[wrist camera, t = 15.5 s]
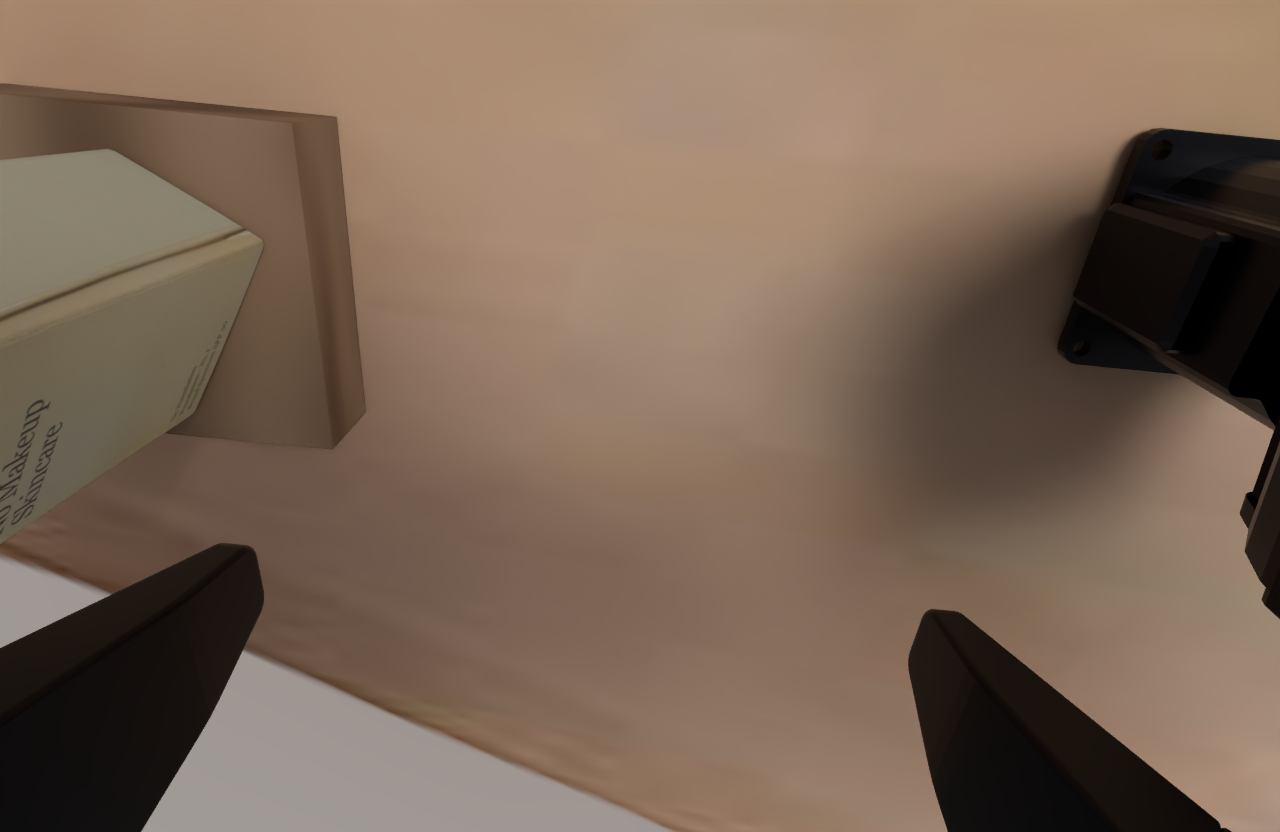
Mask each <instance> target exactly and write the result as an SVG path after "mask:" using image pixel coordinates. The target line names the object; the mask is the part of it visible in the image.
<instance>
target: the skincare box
mask: <svg viewBox="0 0 1280 832" xmlns="http://www.w3.org/2000/svg"><path fill="white" fill-rule="evenodd" d="M263 246H264V243H263V241H262V239H261V238H259V237H258V236H256V235H254V234H253V233H251V232H249V231H247V230H246V229H244V228H243V227H241V226H240V225H238V224H236V223H235V222H233V221H231V220H230V219H228V218H227V217H225V216H223V215H222V214H220V213H218V212H217V211H215V210H213V209H212V208H210V207H208V206H207V205H205V204H203V203H202V202H200V201H198V200H197V199H195V198H193V197H192V196H190V195H188V194H187V193H185V192H183V191H182V190H180V189H178V188H177V187H175V186H173V185H172V184H170V183H168V182H167V181H165V180H163V179H162V178H160V177H158V176H157V175H155V174H153V173H152V172H150V171H148V170H146V169H145V168H143V167H141V166H140V165H138V164H136V163H135V162H133V161H131V160H129V159H128V158H126V157H124V156H123V155H121V154H119V153H118V152H116V151H113V150H110V149H101V150H91V151H82V152H73V153H63V154H54V155H44V156H34V157H25V158H15V159H5V160H0V544H1V543H3V542H4V541H6V540H7V539H9V538H10V537H12V536H13V535H15V534H16V533H18V532H19V531H20V530H22V529H23V528H25V527H26V526H28V525H29V524H31V523H32V522H34V521H35V520H37V519H38V518H40V517H41V516H43V515H44V514H45V513H47V512H48V511H50V510H51V509H53V508H54V507H56V506H57V505H59V504H60V503H62V502H63V501H65V500H66V499H68V498H69V497H71V496H72V495H74V494H75V493H77V492H78V491H79V490H81V489H82V488H84V487H85V486H87V485H88V484H90V483H91V482H93V481H94V480H96V479H97V478H99V477H100V476H102V475H103V474H105V473H106V472H108V471H109V470H111V469H112V468H114V467H115V466H117V465H118V464H120V463H121V462H123V461H124V460H125V459H127V458H128V457H130V456H131V455H133V454H134V453H136V452H137V451H139V450H140V449H142V448H143V447H145V446H146V445H147V444H149V443H150V442H152V441H154V440H155V439H157V438H158V437H160V436H161V435H162V434H164V433H165V432H167V431H168V430H170V429H171V428H173V427H174V426H176V425H177V424H179V423H180V422H182V421H183V420H185V419H186V418H188V417H189V416H191V415H192V414H193V413H194V412H195V410H196V408H197V406H198V403H199V401H200V399H201V397H202V394H203V392H204V390H205V388H206V385H207V383H208V381H209V379H210V376H211V374H212V372H213V369H214V367H215V365H216V362H217V360H218V358H219V355H220V353H221V351H222V348H223V346H224V344H225V341H226V339H227V336H228V334H229V331H230V329H231V327H232V324H233V322H234V320H235V317H236V315H237V313H238V310H239V308H240V305H241V303H242V300H243V298H244V295H245V293H246V290H247V288H248V285H249V283H250V280H251V278H252V275H253V273H254V270H255V268H256V265H257V263H258V260H259V258H260V255H261V253H262V250H263Z"/></svg>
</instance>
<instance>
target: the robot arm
mask: <svg viewBox="0 0 1280 832" xmlns="http://www.w3.org/2000/svg"><path fill="white" fill-rule="evenodd" d="M1160 140H1161V141H1162V143H1163V147H1162V150H1161V152H1160V153H1159V155H1157V156H1156V157H1154V158H1153V157H1152V155H1151V153H1152V148H1153V147H1154V145H1155V144H1156V143H1158V142H1159V141H1160ZM1073 296H1074V298H1075V300H1074V303H1073V305H1072V308H1071V310H1070V313H1069V316H1068V318H1067V321H1066V323H1065V326H1064V329H1063V331H1062V334H1061V336H1060V339H1059V342H1058V347H1057V349H1058V352H1059V354H1060V355H1061V356H1062V357H1063V358H1065V359H1066V360H1067V361H1069V362H1070V363H1074V364H1079V365H1090V366H1100V367H1110V368H1120V369H1131V370H1141V371H1151V372H1161V373H1171V374H1180V375H1182V376H1184V377H1185V378H1187V379H1189V380H1190V381H1192V382H1194V383H1195V384H1197V385H1199V386H1200V387H1202V388H1204V389H1205V390H1207V391H1209V392H1210V393H1212V394H1214V395H1215V396H1217V397H1219V398H1220V399H1222V400H1224V401H1225V402H1227V403H1229V404H1230V405H1232V406H1234V407H1235V408H1237V409H1239V410H1240V411H1242V412H1244V413H1245V414H1247V415H1249V416H1250V417H1252V418H1254V419H1255V420H1257V421H1259V422H1260V423H1262V424H1264V425H1265V426H1267V427H1269V428H1270V429H1272V430H1274V433H1273V435H1272V438H1271V441H1270V444H1269V447H1268V450H1267V453H1266V455H1265V458H1264V461H1263V464H1262V467H1261V470H1260V472H1259V475H1258V478H1257V481H1256V484H1255V487H1254V489H1253V492H1248V493H1247V494H1246V496H1245V499H1244V501H1243V504H1242V507H1241V510H1240V516H1241V517H1242V519H1243V521H1244V523H1245V524H1246V526H1247V528H1248V529H1249V530H1248V535H1247V541H1246V546H1245V553H1246V555H1247V557H1248V559H1249V561H1250V563H1251V564H1252V566H1253V568H1254V570H1255V572H1256V574H1257V576H1258V578H1259V580H1260V581H1261V583H1262V584H1263V585H1264V586H1265V587H1266V588H1265V591H1264V594H1263V596H1262V601H1263V603H1264V605H1265V606H1266V607H1267V608H1268V609H1269V610H1270V611H1271V612H1272V613H1273V614H1275V615H1276V616H1277V617H1278V618H1279V619H1280V140H1274V139H1264V138H1254V137H1245V136H1235V135H1225V134H1215V133H1205V132H1195V131H1185V130H1175V129H1165V128H1156V129H1151V130H1149V131H1147V132H1145V133H1144V134H1143V135H1142V136H1141V137H1140V138H1139V139H1138V140H1137V142H1136V143H1135V145H1134V147H1133V150H1132V152H1131V155H1130V157H1129V160H1128V163H1127V165H1126V168H1125V170H1124V173H1123V176H1122V178H1121V181H1120V183H1119V186H1118V189H1117V191H1116V194H1115V196H1114V199H1113V201H1112V204H1111V207H1110V208H1108V209H1107V210H1106V211H1105V213H1104V215H1103V218H1102V220H1101V223H1100V225H1099V228H1098V231H1097V233H1096V236H1095V238H1094V241H1093V244H1092V246H1091V249H1090V252H1089V254H1088V257H1087V259H1086V262H1085V265H1084V267H1083V270H1082V272H1081V275H1080V278H1079V280H1078V283H1077V285H1076V288H1075V291H1074V294H1073ZM1083 340H1084V344H1083V346H1082V347H1081V349H1079V350H1077V351H1073V347H1074V346H1075V344H1076V343H1078V342H1079V341H1083ZM263 603H264V590H263V585H262V580H261V575H260V570H259V565H258V560H257V556H256V552H255V551H254V549H253V548H252V547H250V546H247V545H238V544H227V543H221V544H217V545H214V546H212V547H210V548H208V549H206V550H204V551H202V552H200V553H198V554H195V555H193V556H191V557H189V558H187V559H185V560H183V561H181V562H179V563H177V564H175V565H173V566H171V567H168V568H166V569H164V570H162V571H160V572H158V573H156V574H154V575H152V576H150V577H148V578H146V579H143V580H141V581H139V582H137V583H135V584H133V585H131V586H129V587H127V588H125V589H123V590H121V591H118V592H116V593H114V594H112V595H110V596H108V597H106V598H104V599H102V600H100V601H98V602H96V603H93V604H91V605H89V606H87V607H85V608H83V609H81V610H79V611H77V612H75V613H73V614H71V615H68V616H66V617H64V618H62V619H60V620H58V621H56V622H54V623H52V624H50V625H48V626H46V627H43V628H41V629H39V630H37V631H35V632H33V633H31V634H29V635H27V636H25V637H23V638H20V639H19V640H17V641H14V642H12V643H10V644H8V645H6V646H4V647H2V648H0V832H141V831H142V829H143V828H144V826H145V824H146V823H147V821H148V819H149V818H150V816H151V814H152V813H153V811H154V810H155V808H156V806H157V805H158V803H159V801H160V800H161V798H162V796H163V795H164V793H165V791H166V790H167V788H168V787H169V785H170V783H171V782H172V780H173V778H174V777H175V775H176V773H177V772H178V770H179V768H180V767H181V765H182V764H183V762H184V760H185V759H186V757H187V755H188V754H189V752H190V750H191V749H192V747H193V745H194V743H195V742H196V741H197V739H198V737H199V735H200V734H201V732H202V730H203V729H204V727H205V725H206V724H207V722H208V720H209V718H210V717H211V715H212V712H213V711H214V709H215V707H216V705H217V703H218V701H219V699H220V697H221V695H222V693H223V691H224V689H225V687H226V684H227V682H228V680H229V678H230V676H231V674H232V672H233V670H234V668H235V665H236V663H237V661H238V659H239V657H240V655H241V653H242V651H243V649H244V647H245V644H246V642H247V640H248V638H249V636H250V634H251V632H252V630H253V628H254V626H255V623H256V621H257V619H258V617H259V615H260V613H261V610H262V607H263ZM908 667H909V674H910V679H911V684H912V689H913V694H914V698H915V703H916V708H917V713H918V718H919V723H920V727H921V732H922V737H923V742H924V747H925V751H926V756H927V761H928V766H929V770H930V774H931V778H932V782H933V786H934V789H935V793H936V796H937V799H938V803H939V806H940V809H941V812H942V815H943V818H944V821H945V824H946V827H947V831H948V832H1231V831H1230V830H1228V829H1227V828H1221V826H1220V823H1219V822H1218V821H1217V820H1216V819H1215V818H1213V817H1212V816H1211V815H1210V814H1209V813H1207V812H1206V811H1205V810H1204V809H1202V808H1201V807H1200V806H1199V805H1197V804H1196V803H1195V802H1194V801H1192V800H1191V799H1190V798H1189V797H1188V796H1186V795H1185V794H1184V793H1183V792H1181V791H1180V790H1179V789H1178V788H1176V787H1175V786H1174V785H1173V784H1171V783H1170V782H1169V781H1168V780H1167V779H1165V778H1164V777H1163V776H1162V775H1160V774H1159V773H1158V772H1157V771H1155V770H1154V769H1153V768H1152V767H1150V766H1149V765H1148V764H1147V763H1146V762H1144V761H1143V760H1142V759H1141V758H1139V757H1138V756H1137V755H1136V754H1134V753H1133V752H1132V751H1131V750H1129V749H1128V748H1127V747H1126V746H1125V745H1123V744H1122V743H1121V742H1120V741H1118V740H1117V739H1116V738H1115V737H1113V736H1112V735H1111V734H1110V733H1108V732H1107V731H1106V730H1105V729H1104V728H1102V727H1101V726H1100V725H1099V724H1097V723H1096V722H1095V721H1094V720H1092V719H1091V718H1090V717H1089V716H1087V715H1086V714H1085V713H1084V712H1083V711H1081V710H1080V709H1079V708H1078V707H1076V706H1075V705H1074V704H1073V703H1071V702H1070V701H1069V700H1068V699H1066V698H1065V697H1064V696H1063V695H1062V694H1060V693H1059V692H1058V691H1057V690H1055V689H1054V688H1053V687H1052V686H1050V685H1049V684H1048V683H1047V682H1045V681H1044V680H1043V679H1042V678H1041V677H1039V676H1038V675H1037V674H1036V673H1034V672H1033V671H1032V670H1031V669H1029V668H1028V667H1027V666H1026V665H1024V664H1023V663H1022V662H1021V661H1020V660H1018V659H1017V658H1016V657H1015V656H1013V655H1012V654H1011V653H1010V652H1008V651H1007V650H1006V649H1005V648H1003V647H1002V646H1001V645H1000V644H999V643H997V642H996V641H995V640H994V639H992V638H991V637H990V636H989V635H987V634H986V633H985V632H984V631H982V630H981V629H980V628H979V627H978V626H976V625H975V624H974V623H973V622H971V621H970V620H969V619H968V618H966V617H965V616H964V615H962V614H961V613H959V612H956V611H948V610H938V609H930V610H928V611H926V612H925V614H924V615H923V617H922V619H921V622H920V625H919V628H918V631H917V633H916V636H915V639H914V642H913V645H912V647H911V650H910V653H909V659H908Z"/></svg>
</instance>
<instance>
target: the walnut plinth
mask: <svg viewBox="0 0 1280 832" xmlns="http://www.w3.org/2000/svg"><path fill="white" fill-rule="evenodd" d="M101 149H110V150H113V151H116V152H118V153H119V154H121V155H123V156H124V157H126V158H128V159H129V160H131V161H133V162H135V163H136V164H138V165H140V166H141V167H143V168H145V169H146V170H148V171H150V172H152V173H153V174H155V175H157V176H158V177H160V178H162V179H163V180H165V181H167V182H168V183H170V184H172V185H173V186H175V187H177V188H178V189H180V190H182V191H183V192H185V193H187V194H188V195H190V196H192V197H193V198H195V199H197V200H198V201H200V202H202V203H203V204H205V205H207V206H208V207H210V208H212V209H213V210H215V211H217V212H218V213H220V214H222V215H223V216H225V217H227V218H228V219H230V220H231V221H233V222H235V223H236V224H238V225H240V226H241V227H243V228H244V229H246V230H247V231H249V232H251V233H253V234H254V235H256V236H258V237H259V238H261V239H262V241H263V243H264V246H263V250H262V253H261V255H260V258H259V260H258V263H257V265H256V268H255V270H254V273H253V275H252V278H251V280H250V283H249V285H248V288H247V290H246V293H245V295H244V298H243V300H242V303H241V305H240V308H239V310H238V313H237V315H236V317H235V320H234V322H233V324H232V327H231V329H230V331H229V334H228V336H227V339H226V341H225V344H224V346H223V348H222V351H221V353H220V355H219V358H218V360H217V362H216V365H215V367H214V369H213V372H212V374H211V376H210V379H209V381H208V383H207V385H206V388H205V390H204V392H203V394H202V397H201V399H200V401H199V403H198V406H197V408H196V410H195V412H194V413H193V414H192V415H191V416H189V417H188V418H186V419H185V420H183V421H182V422H180V423H179V424H177V425H176V426H174V427H173V428H171V429H170V430H168V431H167V432H165V433H168V434H178V435H189V436H199V437H210V438H220V439H230V440H241V441H251V442H262V443H272V444H282V445H293V446H303V447H314V448H324V449H334V448H335V446H336V445H337V444H338V443H339V442H340V441H341V440H342V438H343V437H344V436H345V435H346V434H347V433H348V432H349V430H350V429H351V428H352V427H353V426H354V425H355V424H356V422H357V421H358V420H359V419H360V418H361V417H362V416H363V414H364V413H365V412H366V411H365V401H364V391H363V381H362V371H361V361H360V351H359V341H358V330H357V320H356V310H355V300H354V290H353V280H352V270H351V259H350V249H349V239H348V229H347V219H346V209H345V199H344V189H343V178H342V168H341V158H340V148H339V138H338V128H337V118H336V117H334V116H324V115H314V114H304V113H294V112H284V111H274V110H264V109H254V108H244V107H234V106H224V105H214V104H204V103H194V102H184V101H174V100H164V99H154V98H144V97H134V96H124V95H114V94H104V93H94V92H84V91H74V90H64V89H54V88H44V87H34V86H24V85H14V84H0V160H5V159H15V158H25V157H34V156H44V155H54V154H63V153H73V152H82V151H91V150H101Z"/></svg>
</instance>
